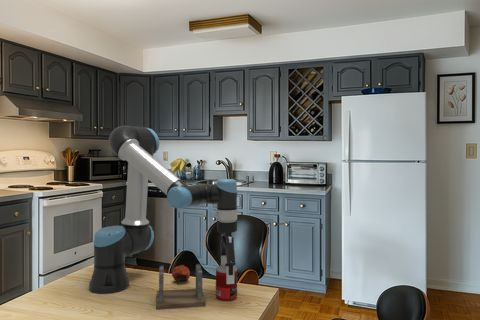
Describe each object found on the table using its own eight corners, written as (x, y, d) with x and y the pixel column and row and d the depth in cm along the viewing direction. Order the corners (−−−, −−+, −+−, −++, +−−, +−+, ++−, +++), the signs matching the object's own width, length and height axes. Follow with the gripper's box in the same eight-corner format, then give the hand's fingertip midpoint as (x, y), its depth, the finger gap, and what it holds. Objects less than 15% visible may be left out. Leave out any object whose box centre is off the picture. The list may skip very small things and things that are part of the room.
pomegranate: (188, 290, 155) (195, 270, 163) (182, 279, 151) (189, 259, 159) (172, 290, 158) (180, 270, 165) (165, 279, 154) (174, 259, 161)
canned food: (234, 302, 137) (234, 271, 137) (213, 300, 139) (213, 270, 139) (238, 294, 145) (239, 265, 145) (218, 292, 146) (218, 264, 146)
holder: (156, 294, 144) (156, 264, 144) (201, 292, 147) (202, 262, 147) (155, 309, 130) (155, 276, 130) (205, 306, 133) (205, 273, 133)
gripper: (212, 216, 153) (213, 268, 153) (221, 226, 129) (222, 289, 129) (231, 215, 155) (231, 267, 155) (243, 226, 130) (244, 288, 130)
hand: (227, 277), depth 142 cm, fingers open, 13 cm apart
